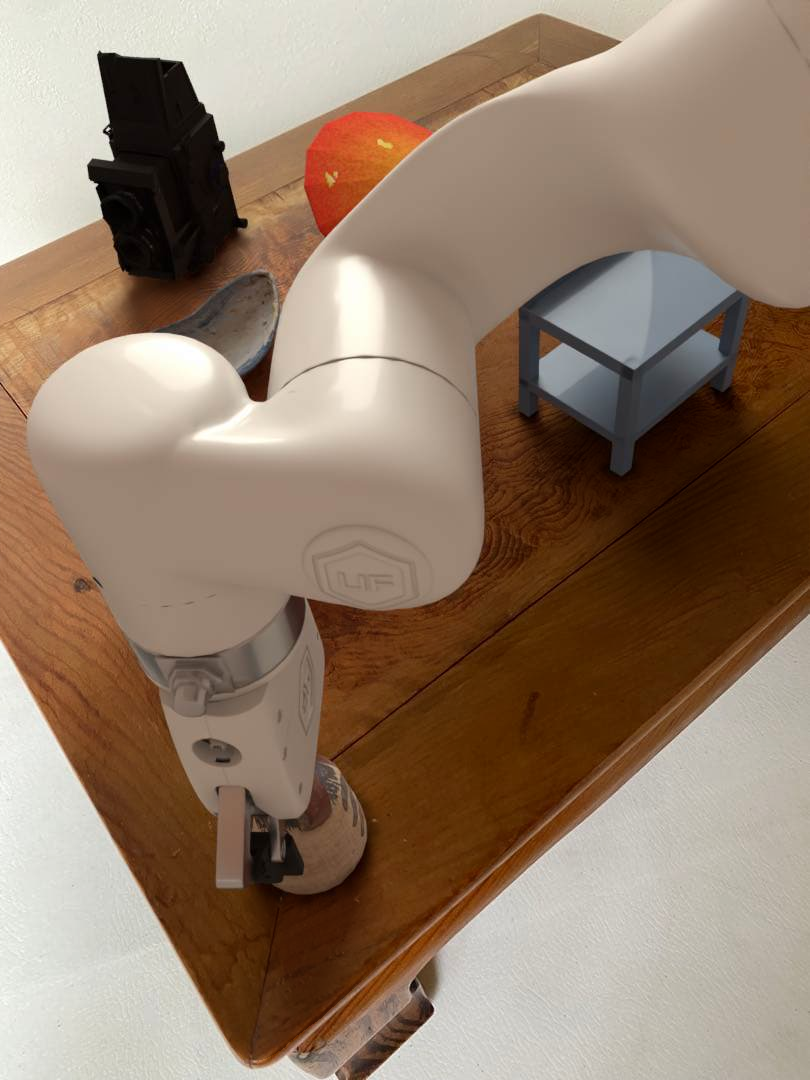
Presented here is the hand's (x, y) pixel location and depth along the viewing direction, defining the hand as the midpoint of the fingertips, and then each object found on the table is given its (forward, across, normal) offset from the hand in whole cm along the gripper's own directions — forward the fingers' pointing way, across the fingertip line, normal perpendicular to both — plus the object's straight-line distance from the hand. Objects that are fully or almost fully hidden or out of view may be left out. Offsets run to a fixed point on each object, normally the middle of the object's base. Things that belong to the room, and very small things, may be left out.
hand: (285, 783), depth 55 cm
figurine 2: (+8, 0, 0) cm, 8 cm away
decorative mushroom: (+2, +61, +3) cm, 61 cm away
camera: (+8, +61, +19) cm, 65 cm away
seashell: (+8, +45, +13) cm, 47 cm away
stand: (+8, +38, -23) cm, 45 cm away
